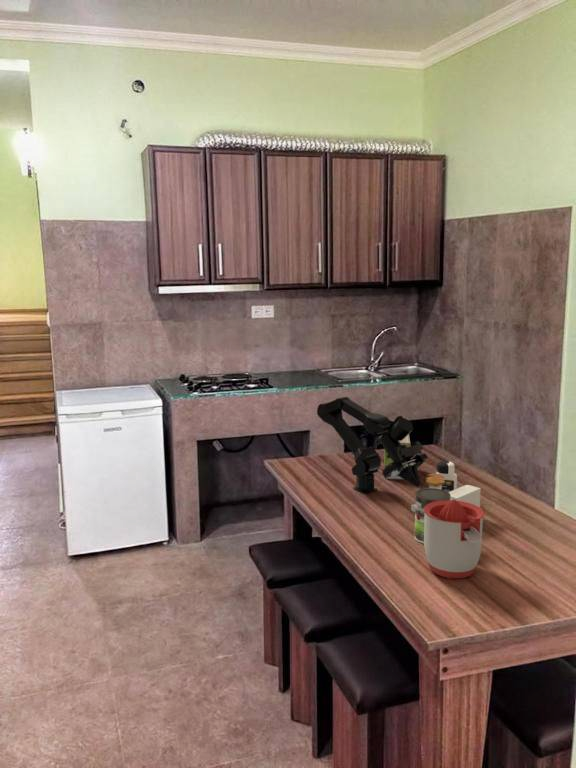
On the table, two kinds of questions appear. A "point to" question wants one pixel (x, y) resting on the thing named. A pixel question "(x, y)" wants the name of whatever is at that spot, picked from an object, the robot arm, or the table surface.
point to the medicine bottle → (447, 475)
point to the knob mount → (463, 495)
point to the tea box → (387, 461)
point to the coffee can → (421, 501)
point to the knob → (435, 481)
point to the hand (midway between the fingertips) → (419, 486)
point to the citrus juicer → (453, 537)
